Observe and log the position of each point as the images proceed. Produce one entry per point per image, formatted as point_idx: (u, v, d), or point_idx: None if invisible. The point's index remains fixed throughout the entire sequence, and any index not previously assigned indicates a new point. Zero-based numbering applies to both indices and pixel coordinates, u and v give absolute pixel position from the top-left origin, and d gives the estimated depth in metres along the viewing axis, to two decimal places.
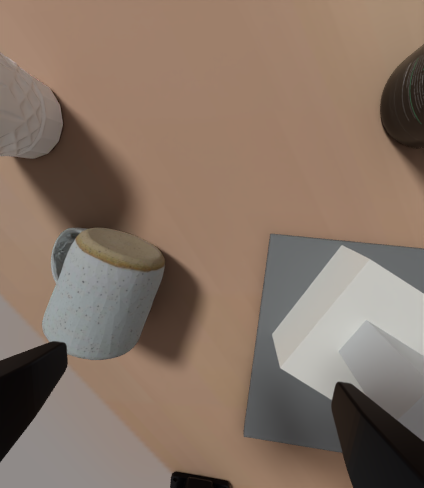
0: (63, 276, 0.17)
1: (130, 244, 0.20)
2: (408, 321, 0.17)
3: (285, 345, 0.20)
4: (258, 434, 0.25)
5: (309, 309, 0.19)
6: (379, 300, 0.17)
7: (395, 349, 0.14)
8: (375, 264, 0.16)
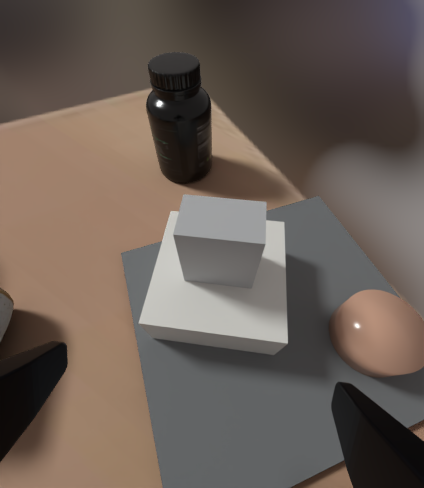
0: None
1: None
2: None
3: None
4: None
5: None
6: None
7: None
8: (176, 212, 0.22)
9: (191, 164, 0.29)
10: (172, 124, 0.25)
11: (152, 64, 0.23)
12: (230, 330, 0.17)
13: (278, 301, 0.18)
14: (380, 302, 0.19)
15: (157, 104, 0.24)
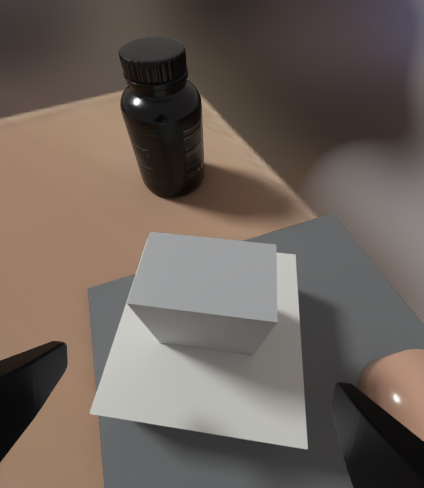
0: None
1: None
2: None
3: None
4: None
5: None
6: None
7: None
8: None
9: (178, 176, 0.24)
10: (151, 126, 0.19)
11: (124, 50, 0.18)
12: (222, 426, 0.11)
13: (291, 376, 0.12)
14: None
15: (132, 102, 0.19)
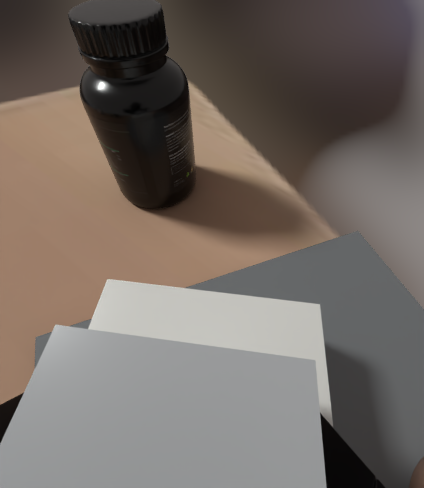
0: None
1: None
2: (199, 336, 0.11)
3: None
4: None
5: None
6: (142, 325, 0.11)
7: None
8: (117, 282, 0.12)
9: (161, 183, 0.19)
10: (119, 119, 0.14)
11: (75, 11, 0.13)
12: None
13: None
14: None
15: (92, 86, 0.14)
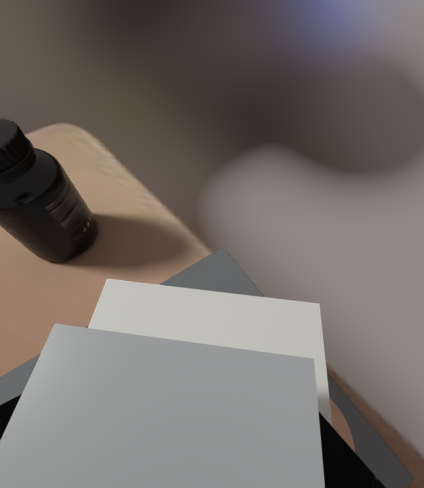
0: None
1: None
2: (198, 335, 0.11)
3: None
4: None
5: None
6: (142, 324, 0.11)
7: None
8: (117, 281, 0.12)
9: (61, 243, 0.23)
10: (5, 212, 0.19)
11: None
12: None
13: None
14: None
15: None
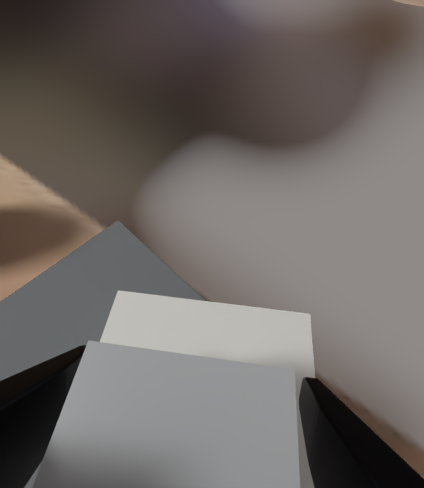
0: None
1: None
2: (201, 342, 0.12)
3: None
4: None
5: None
6: (150, 332, 0.12)
7: None
8: (127, 293, 0.13)
9: None
10: None
11: None
12: None
13: None
14: None
15: None
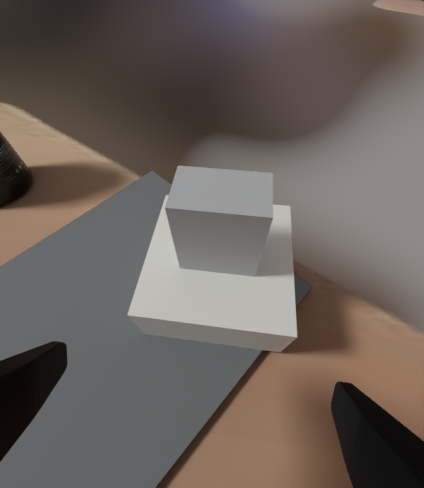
0: None
1: None
2: None
3: None
4: None
5: None
6: None
7: None
8: None
9: None
10: None
11: None
12: (231, 322, 0.15)
13: (285, 290, 0.16)
14: None
15: None
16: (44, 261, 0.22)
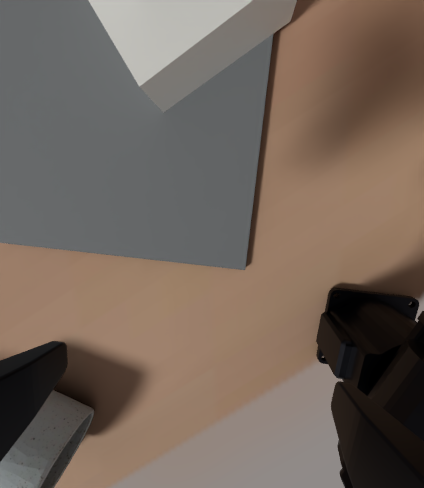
0: None
1: None
2: None
3: None
4: (240, 251, 0.19)
5: None
6: None
7: None
8: None
9: None
10: None
11: None
12: (236, 3, 0.12)
13: None
14: None
15: None
16: (17, 134, 0.19)
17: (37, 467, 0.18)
